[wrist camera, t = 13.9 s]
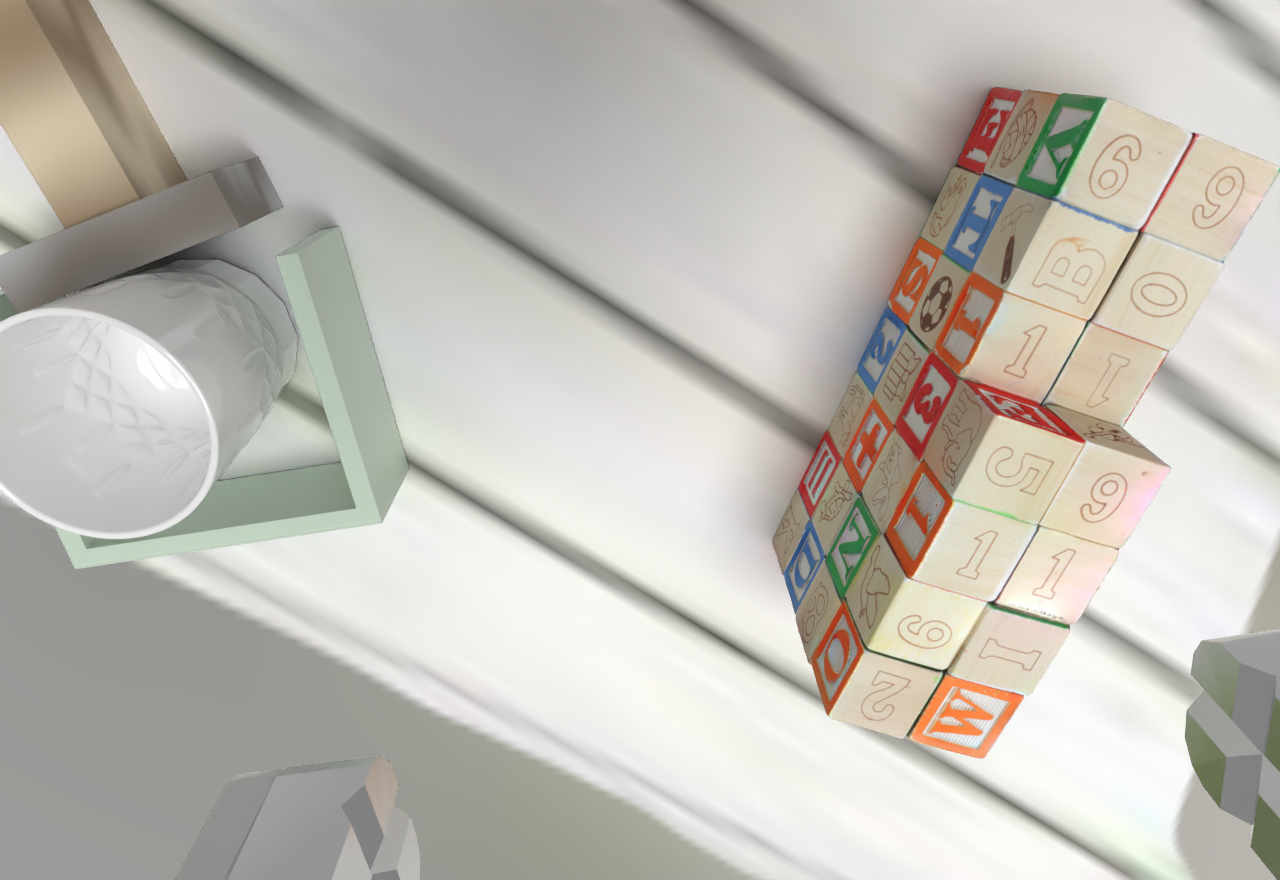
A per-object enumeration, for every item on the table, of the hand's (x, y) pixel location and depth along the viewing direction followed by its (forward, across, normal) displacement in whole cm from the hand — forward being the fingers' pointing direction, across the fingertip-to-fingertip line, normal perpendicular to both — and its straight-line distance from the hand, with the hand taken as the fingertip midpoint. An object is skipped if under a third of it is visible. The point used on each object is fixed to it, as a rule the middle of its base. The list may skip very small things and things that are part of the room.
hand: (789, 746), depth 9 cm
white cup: (+29, +19, +2) cm, 35 cm away
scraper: (+29, +20, -10) cm, 37 cm away
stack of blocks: (+30, -11, +8) cm, 32 cm away
